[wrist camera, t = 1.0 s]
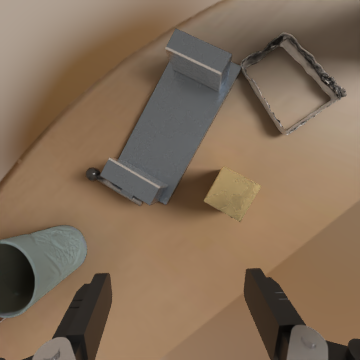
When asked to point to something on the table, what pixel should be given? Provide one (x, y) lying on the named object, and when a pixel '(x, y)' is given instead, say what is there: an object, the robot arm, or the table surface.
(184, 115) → the vise base
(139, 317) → the table surface
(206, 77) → the sliding jaw
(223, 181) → the brass block
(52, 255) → the blue embossed cup
